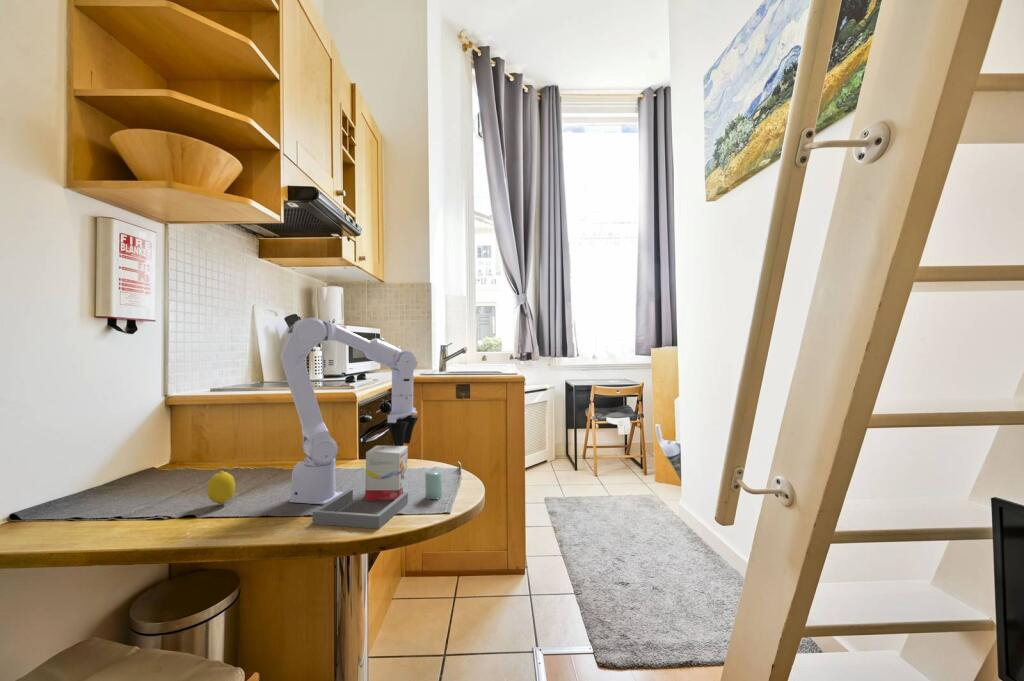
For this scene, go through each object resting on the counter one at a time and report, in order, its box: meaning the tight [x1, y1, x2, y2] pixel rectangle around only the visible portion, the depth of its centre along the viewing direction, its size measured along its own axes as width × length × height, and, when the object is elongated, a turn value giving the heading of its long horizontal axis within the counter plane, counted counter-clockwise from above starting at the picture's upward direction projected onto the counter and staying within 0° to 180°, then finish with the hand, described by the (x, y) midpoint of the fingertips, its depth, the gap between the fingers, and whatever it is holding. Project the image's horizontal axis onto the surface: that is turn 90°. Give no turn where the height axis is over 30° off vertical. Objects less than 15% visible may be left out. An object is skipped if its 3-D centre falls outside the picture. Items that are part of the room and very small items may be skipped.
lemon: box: [206, 470, 236, 505], centre depth 108 cm, size 6×6×8 cm
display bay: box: [311, 489, 409, 530], centre depth 103 cm, size 15×15×2 cm
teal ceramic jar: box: [424, 470, 443, 500], centre depth 114 cm, size 4×4×6 cm
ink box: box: [364, 444, 409, 502], centre depth 116 cm, size 9×9×12 cm
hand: (402, 445), depth 125 cm, fingers open, 4 cm apart
